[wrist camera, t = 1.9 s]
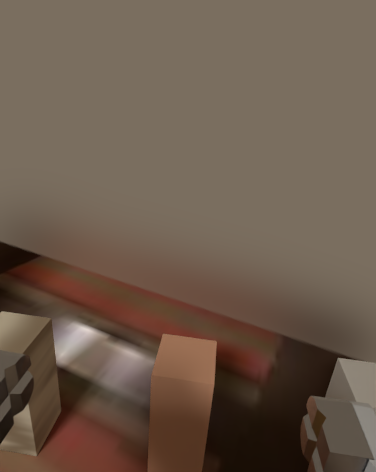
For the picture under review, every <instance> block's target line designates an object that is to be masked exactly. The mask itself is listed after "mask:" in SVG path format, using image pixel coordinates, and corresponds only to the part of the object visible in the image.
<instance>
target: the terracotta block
mask: <svg viewBox="0 0 376 472" xmlns="http://www.w3.org/2000/svg"><path fill="white" fill-rule="evenodd" d="M216 346H217V341H211V340H204V339H197V338H190V337H183V336H176V335H169V334H163V336H162V340H161V343H160V347H159V350H158V354H157V357H156V361H155V364H154V368H153V371H152V375H151V398H150V423H149V448H148V472H202V468H203V461H204V454H205V447H206V440H207V433H208V426H209V419H210V412H211V405H212V398H213V391H214V382H215V364H216Z"/></svg>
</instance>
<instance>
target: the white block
mask: <svg viewBox="0 0 376 472" xmlns="http://www.w3.org/2000/svg"><path fill="white" fill-rule="evenodd" d="M325 398H332V399H340V400H347V401H354V402H361V403H368V404H369V405H370V406H371V407H372V409H373V411H374V413H375V415H376V363H371V362H364V361H357V360H350V359H343V358H338V359H337V362H336V365H335V369H334V372H333V375H332V378H331V381H330V384H329V387H328V390H327V393H326V396H325Z"/></svg>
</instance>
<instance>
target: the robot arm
mask: <svg viewBox="0 0 376 472" xmlns="http://www.w3.org/2000/svg"><path fill="white" fill-rule="evenodd" d="M30 366H31V360H30V356H28V355H26V354H20V353H14V352H8V351H3V350H0V444H1V443H2V441H3V440H4V438H5V437H6V435H7V434H8V432H9V431H10V429H11V428H12V426H13V425H14V416H15V415H17V414H18V413H20V412H21V411H23V410H24V409H25V407H26V405H27V404H28V402H29V400H30V398H31V395H32V392H33V388H34V379H33V375H32V374H31V373H30V372H29V371H28V369H29V367H30ZM306 406H307V410H308V414H307V415H305V416H304V417H303V420H302V424H301V435H300V437H301V447H302V452H303V456H304V457H305V458H306V459H307V460H308V462H309V463H310V464H309V467H308V470H307V472H376V415H375V413H374V411H373V409H372V407H371V406H370V405H369V404H368V403H361V402H354V401H347V400H340V399H332V398H325V397H317V396H310V398H309V399H308V402H307V405H306Z"/></svg>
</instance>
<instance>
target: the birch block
mask: <svg viewBox="0 0 376 472" xmlns="http://www.w3.org/2000/svg"><path fill="white" fill-rule="evenodd" d="M0 350H3V351H8V352H14V353H20V354H26V355H28V356H30V360H31V366H30V367H29V369H28V371H29V372H30V373H31V374H32V375H33V379H34V388H33V392H32V395H31V398H30V400H29V402H28V404H27V405H26V407H25V409H24V410H23V411H21V412H20V413H18V414H17V415H15V416H14V425H13V426H12V428H11V429H10V431H9V432H8V434H7V435H6V437H5V438H4V440H3V441H2V443H1V444H0V450H5V451H11V452H16V453H22V454H28V455H33V456H37V455H38V453H39V451H40V449H41V448H42V446H43V444H44V442H45V440H46V438H47V436H48V435H49V433H50V431H51V429H52V427H53V425H54V424H55V422H56V420H57V418H58V416H59V414H60V413H61V403H60V394H59V385H58V376H57V366H56V357H55V348H54V339H53V329H52V320H51V318H45V317H38V316H31V315H24V314H16V313H9V312H1V313H0Z"/></svg>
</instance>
